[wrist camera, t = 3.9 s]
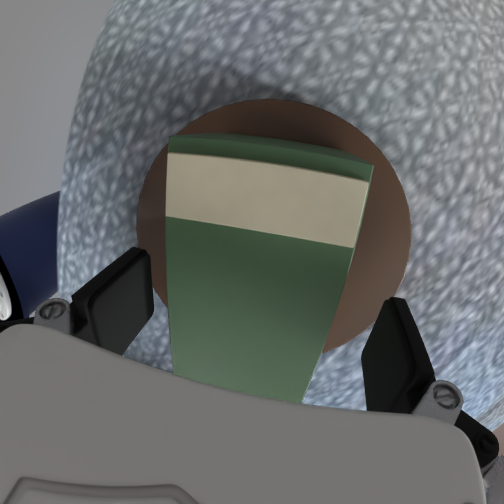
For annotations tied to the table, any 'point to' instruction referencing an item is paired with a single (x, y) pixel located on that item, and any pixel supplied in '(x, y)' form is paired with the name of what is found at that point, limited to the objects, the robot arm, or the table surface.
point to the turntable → (373, 223)
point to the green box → (257, 256)
